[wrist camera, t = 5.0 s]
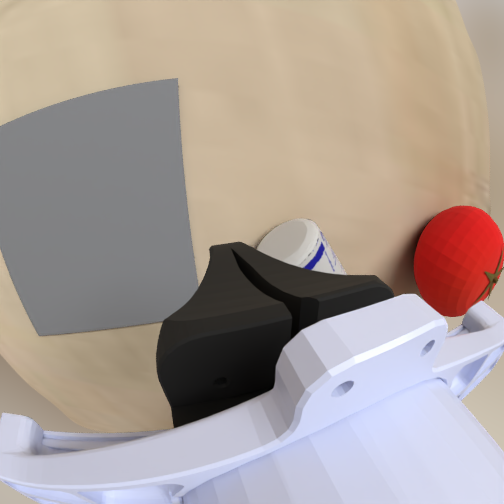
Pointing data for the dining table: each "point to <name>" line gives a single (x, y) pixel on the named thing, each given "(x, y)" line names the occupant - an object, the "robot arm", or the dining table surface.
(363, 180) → the dining table surface
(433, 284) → the tomato
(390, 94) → the dining table surface
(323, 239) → the beverage can
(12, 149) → the mat
